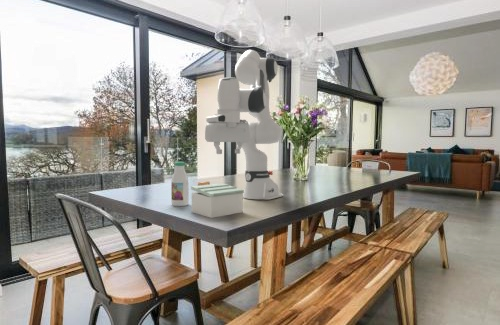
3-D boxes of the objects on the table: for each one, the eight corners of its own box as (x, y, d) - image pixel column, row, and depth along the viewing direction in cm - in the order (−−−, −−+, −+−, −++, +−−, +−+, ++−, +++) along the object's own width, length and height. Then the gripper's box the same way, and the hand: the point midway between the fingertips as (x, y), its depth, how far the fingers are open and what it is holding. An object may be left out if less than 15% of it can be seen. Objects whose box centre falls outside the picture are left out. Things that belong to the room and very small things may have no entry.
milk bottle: (181, 202, 157) (181, 161, 156) (192, 204, 152) (191, 161, 151) (168, 205, 151) (167, 161, 150) (178, 207, 146) (178, 162, 145)
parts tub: (222, 207, 147) (222, 189, 147) (242, 212, 137) (242, 193, 136) (191, 212, 137) (191, 193, 136) (211, 217, 126) (211, 197, 126)
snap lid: (217, 184, 150) (217, 180, 149) (244, 193, 136) (244, 188, 136) (186, 187, 139) (186, 182, 138) (212, 197, 125) (212, 192, 125)
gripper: (243, 120, 138) (243, 153, 139) (202, 117, 124) (202, 154, 125) (253, 119, 133) (253, 153, 134) (212, 116, 120) (212, 154, 120)
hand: (228, 153), depth 129 cm, fingers open, 8 cm apart
